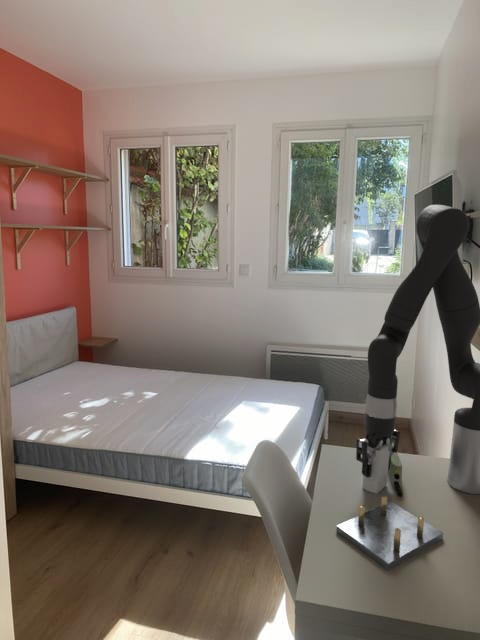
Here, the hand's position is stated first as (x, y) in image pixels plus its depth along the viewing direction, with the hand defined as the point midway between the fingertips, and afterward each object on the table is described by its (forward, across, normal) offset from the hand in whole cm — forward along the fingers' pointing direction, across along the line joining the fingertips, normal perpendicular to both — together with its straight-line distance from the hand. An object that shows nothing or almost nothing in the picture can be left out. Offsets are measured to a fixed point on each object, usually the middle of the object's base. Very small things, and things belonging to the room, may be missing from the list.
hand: (375, 472), depth 118 cm
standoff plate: (+4, +13, +15) cm, 20 cm away
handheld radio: (+5, -10, -2) cm, 11 cm away
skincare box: (+5, 0, 0) cm, 5 cm away
